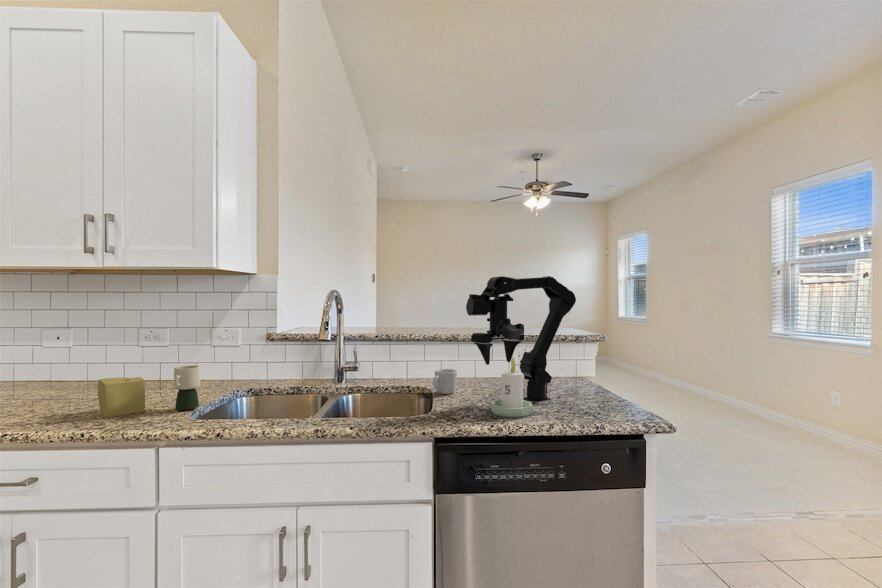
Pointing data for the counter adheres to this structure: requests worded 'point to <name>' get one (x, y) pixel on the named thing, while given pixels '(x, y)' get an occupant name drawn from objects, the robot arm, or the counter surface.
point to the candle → (512, 388)
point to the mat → (512, 417)
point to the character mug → (187, 386)
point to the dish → (511, 409)
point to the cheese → (121, 396)
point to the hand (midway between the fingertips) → (498, 363)
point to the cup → (445, 380)
